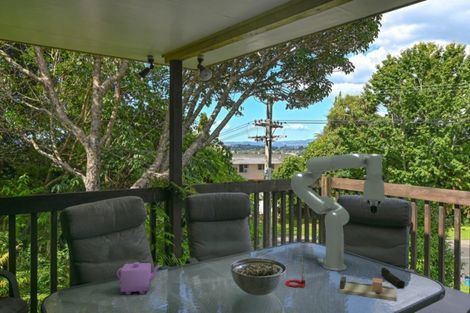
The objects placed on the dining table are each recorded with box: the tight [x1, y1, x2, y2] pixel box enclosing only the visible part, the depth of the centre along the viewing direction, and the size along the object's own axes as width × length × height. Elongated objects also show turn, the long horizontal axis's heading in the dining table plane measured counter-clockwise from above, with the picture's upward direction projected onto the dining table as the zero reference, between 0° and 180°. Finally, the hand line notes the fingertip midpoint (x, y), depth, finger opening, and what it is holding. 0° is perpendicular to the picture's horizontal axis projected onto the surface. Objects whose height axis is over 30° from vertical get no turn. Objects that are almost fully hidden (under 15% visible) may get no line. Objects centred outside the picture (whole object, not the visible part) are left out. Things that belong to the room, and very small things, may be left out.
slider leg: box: [371, 277, 383, 293], centre depth 159 cm, size 4×7×4 cm, turn 157°
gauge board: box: [337, 276, 398, 302], centre depth 161 cm, size 24×12×4 cm, turn 67°
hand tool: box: [380, 267, 406, 290], centre depth 175 cm, size 19×4×5 cm, turn 1°
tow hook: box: [285, 257, 306, 289], centre depth 170 cm, size 8×13×9 cm
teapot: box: [116, 261, 163, 295], centre depth 161 cm, size 20×10×12 cm, turn 97°
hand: (373, 213), depth 183 cm, fingers closed
